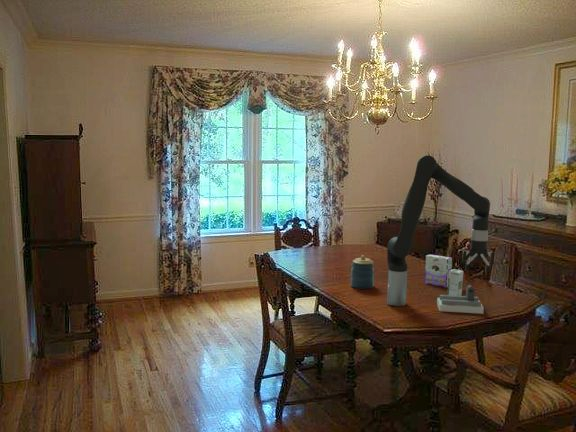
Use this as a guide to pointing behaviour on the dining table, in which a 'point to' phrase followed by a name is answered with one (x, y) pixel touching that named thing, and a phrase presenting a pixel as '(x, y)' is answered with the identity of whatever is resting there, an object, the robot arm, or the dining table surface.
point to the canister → (362, 273)
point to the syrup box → (455, 282)
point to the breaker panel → (460, 308)
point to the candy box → (437, 270)
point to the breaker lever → (470, 293)
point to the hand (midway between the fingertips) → (476, 272)
